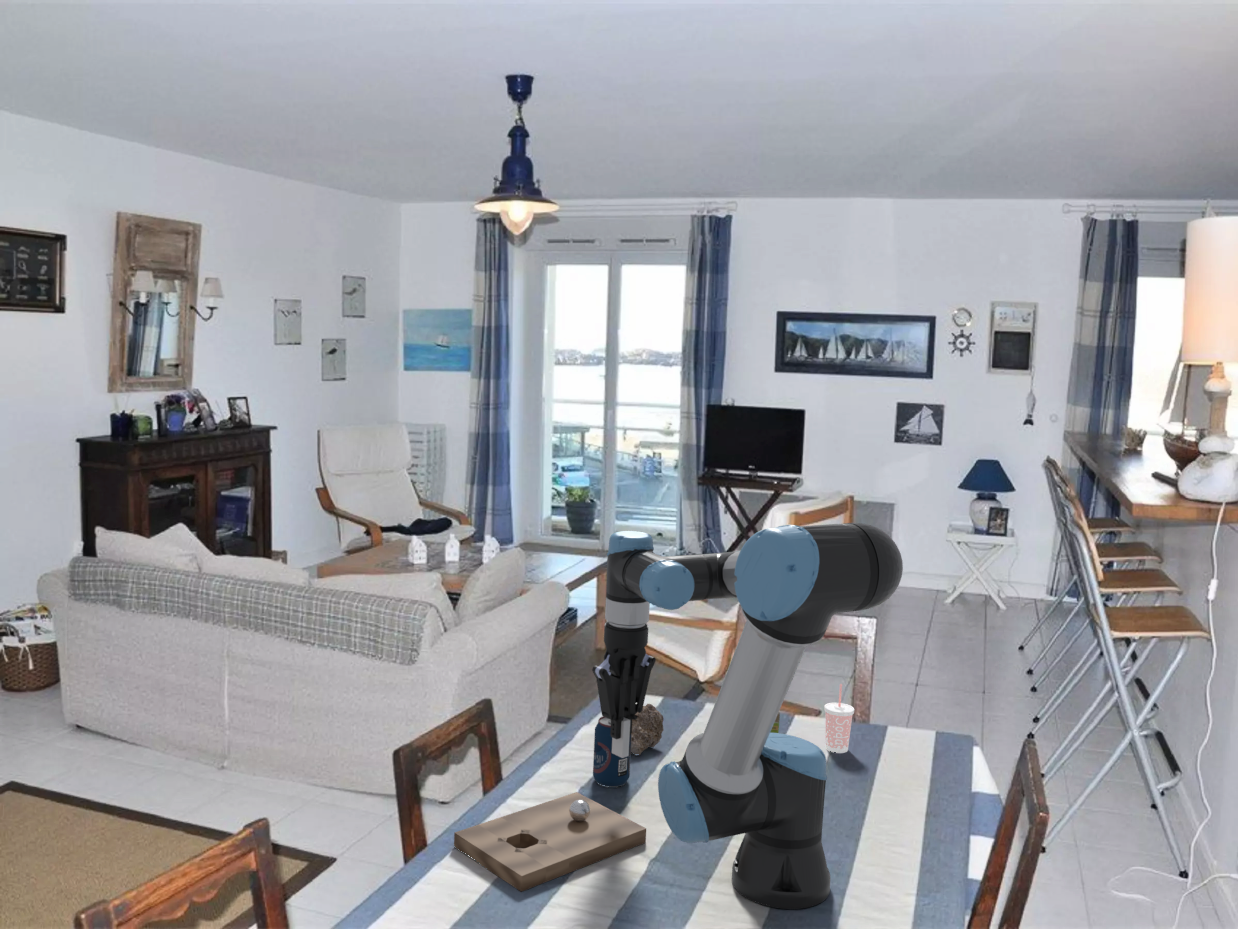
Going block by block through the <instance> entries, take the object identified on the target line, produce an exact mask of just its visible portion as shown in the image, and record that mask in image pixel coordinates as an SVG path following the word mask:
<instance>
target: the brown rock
mask: <svg viewBox="0 0 1238 929" xmlns="http://www.w3.org/2000/svg"><path fill="white" fill-rule="evenodd" d="M635 715H637V716H638V717H637V719H636V720H633V719H632V733H631V752H632V753H634V754H639V756H641V754H642V753H643V752H644V751H645V750H647V749H648V747H653V748H654V747H656V746H657V744H658V743H660V740H661V739H662V737H663V736H662V734H663V732H664V725H663V723H664V720H665V719H664V716H663V714H662V713H661V712H660V710H657V707H656V706H654V705H653V704H651V703H647V704H645V705H643V709H642V711H641V712H640V713H638V712H637V713H636V714H635ZM632 753H631V754H632Z"/></svg>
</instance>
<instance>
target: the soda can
mask: <svg viewBox="0 0 1238 929" xmlns="http://www.w3.org/2000/svg"><path fill="white" fill-rule="evenodd" d="M610 731H611V720H610V719H608V718H606V717H604V716H601V717H599V718H598V721H597V724H596V726H595V727H594V738H593V739H594V740H593V741H594V742H593V764H592V765H593V766H592V776H593V779H594V781H595V782H596V784H597V783H599V784H601V785H605V786H609V787H616V788H618V787H617V786H621V785H623V786H624V785H626V783H627V782H628V780H629V778H630V777H631V776H630V775H631V773H630V772H631V754H632V753H631V735H630V736H629V756H627V757H624V758H621V757H619V756H617V755H615V754H613V753H612V737H611V735H610ZM599 784H598V785H599ZM601 785H600V786H601ZM621 787H622V786H621Z"/></svg>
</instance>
